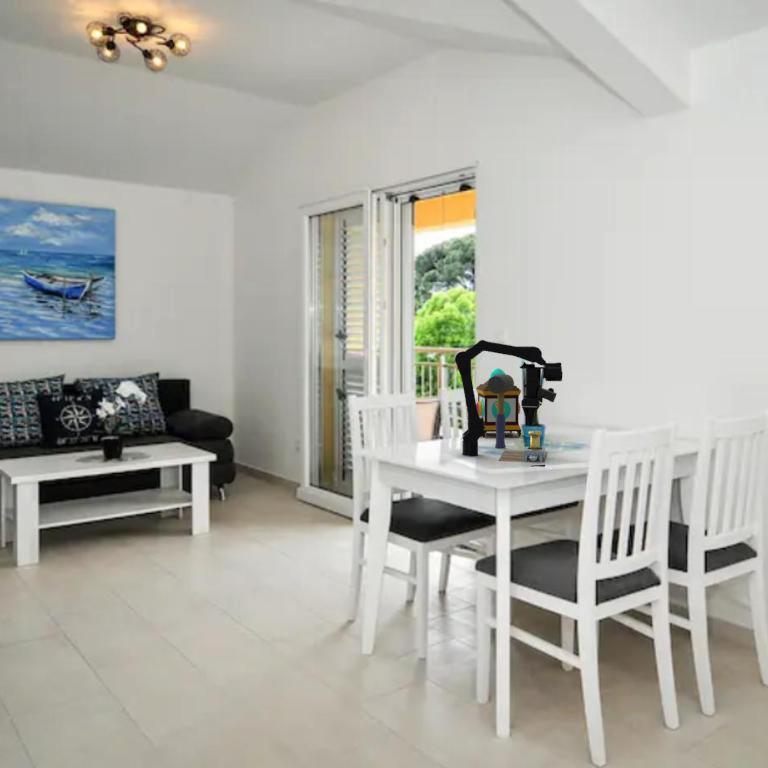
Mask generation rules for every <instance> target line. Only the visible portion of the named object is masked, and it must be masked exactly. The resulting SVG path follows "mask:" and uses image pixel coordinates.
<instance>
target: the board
mask: <svg viewBox="0 0 768 768" xmlns="http://www.w3.org/2000/svg"><path fill="white" fill-rule="evenodd" d="M547 456H548V451H546V455H545V458H544V460H542V462H540V460H537V462H536V463H538V464H537V465H535V464H534V465H532V467H534V466H545V467H546V464H543V463H546V460H547ZM497 461H498V462H516V463H517V462H518V463H525V462H524V450H510V449H509V450H507V449H505V450H503V452H502V453H501V455H500V457H499V458H498V460H497ZM526 463H531V462H530V461H529V459H528V460H527V462H526ZM539 463H542V464H539Z"/></svg>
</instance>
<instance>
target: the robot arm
mask: <svg viewBox="0 0 768 768" xmlns="http://www.w3.org/2000/svg"><path fill="white" fill-rule="evenodd" d="M482 352H488V353H489V352H490V353H494V354H499V355H504V356H505V355H506V356H513V357H516V358H518V359H521V360H523V363H522V364H520V365H519V369H524V384H523V388H524V395H523V399H521V405H520V407H521V409H522V410H523V413H524V416H525V418H526V420H527V423H528V426H530V427H531V426H533V425H534V423H535V422H536V419H537V414H538V410H539V408H540V406H542V405H543V402H544V399H545V400H547V401H549V402H550V403H554V402H555V400H556V397H557V392H555V388H552V387H549V388H548V389H547V388H543V384H542V381H541V379H545V382H563V368H562V362H560V361H559V362H558V361H557V362H547V360H545V359H544V358H543V352H542V351H541V349H540V348H539V347H538V346H533V345H532V346H531V345H530V346H529V345H527V346H526V345H525V346H524V345H523V346H520V345H519V346H517V345H516V346H515V345H511V344H504V343H499V342H494V341H492V342H491V341H487V340H485V339H480V340H478V341H477V342H476V343H475V344H473V345H472V346H470V347H469V348H467V349H466V350H460V351H458V352H457V353H456V354H455V356H454V362H455V364H456V367H457V369H458V373H459V375H460V378H461V381H462V389H463V394H464V399H465V404H466V405H465V406H466V409H467V429H466V430H465V431H464V432H463V433H462V436H461V437H462V438H461V439H462V441H461V442H462V445H461V447H462V449H461V450H462V452H461V454H462V456H466V457H467V456H468V457H478V456H479V439H480V438H483V437H482V435H483V434H484V429H486V428H485V425H484V418H483V416H481V417H479V415H478V412H477V406H476V403H477V402H476V396H475V390H474V385H473V381H472V360H473V359H474V358H475V357H478V356H479V354H481V353H482ZM526 362H530V363H526ZM535 363H536V364H537V365H539V366H536V364H535Z"/></svg>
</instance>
